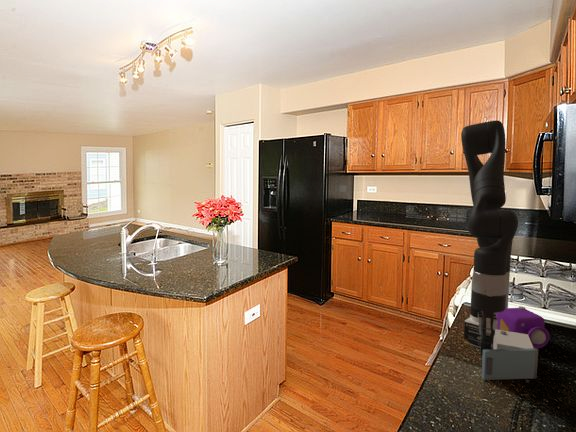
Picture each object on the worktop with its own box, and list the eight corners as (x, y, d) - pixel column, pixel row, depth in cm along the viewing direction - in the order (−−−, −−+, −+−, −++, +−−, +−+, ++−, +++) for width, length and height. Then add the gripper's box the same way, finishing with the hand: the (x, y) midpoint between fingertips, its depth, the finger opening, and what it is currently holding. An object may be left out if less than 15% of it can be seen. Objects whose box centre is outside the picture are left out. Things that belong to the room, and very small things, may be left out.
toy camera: (530, 357, 95) (532, 323, 95) (489, 336, 109) (491, 306, 108) (559, 352, 98) (561, 318, 97) (516, 332, 111) (518, 302, 110)
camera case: (492, 352, 98) (494, 327, 98) (529, 359, 94) (531, 333, 94) (495, 369, 90) (497, 341, 89) (536, 377, 86) (538, 348, 85)
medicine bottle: (463, 342, 105) (464, 304, 103) (472, 335, 109) (474, 299, 108) (488, 351, 99) (490, 311, 98) (497, 343, 104) (499, 305, 103)
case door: (481, 377, 85) (482, 349, 85) (534, 375, 86) (535, 348, 85) (485, 381, 84) (487, 352, 83) (539, 379, 84) (541, 351, 83)
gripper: (471, 280, 93) (468, 341, 95) (472, 295, 81) (469, 364, 83) (503, 283, 89) (500, 346, 91) (509, 300, 78) (505, 372, 80)
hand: (485, 355), depth 87 cm, fingers closed
